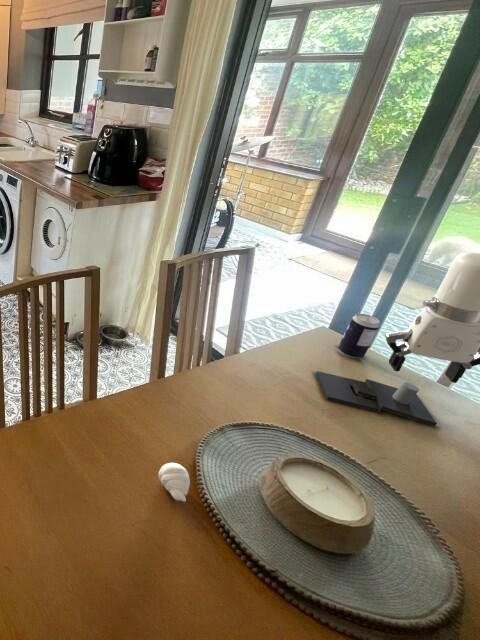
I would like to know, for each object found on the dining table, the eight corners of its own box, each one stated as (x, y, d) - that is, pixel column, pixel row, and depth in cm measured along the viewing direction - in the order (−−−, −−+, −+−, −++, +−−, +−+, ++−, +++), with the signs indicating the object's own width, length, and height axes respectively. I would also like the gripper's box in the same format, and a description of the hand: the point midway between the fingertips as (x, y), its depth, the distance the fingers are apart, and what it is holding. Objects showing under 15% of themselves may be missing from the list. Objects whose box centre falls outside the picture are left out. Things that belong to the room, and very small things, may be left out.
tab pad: (414, 396, 101) (427, 380, 98) (434, 426, 93) (450, 409, 90) (347, 376, 106) (358, 360, 103) (361, 403, 98) (374, 386, 95)
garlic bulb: (163, 507, 77) (169, 488, 75) (154, 477, 82) (159, 459, 80) (193, 510, 76) (200, 492, 74) (183, 481, 82) (189, 462, 79)
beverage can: (360, 351, 117) (379, 316, 111) (365, 362, 112) (384, 327, 107) (335, 344, 119) (352, 310, 114) (338, 355, 115) (355, 320, 110)
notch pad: (363, 384, 105) (365, 382, 104) (379, 412, 97) (380, 409, 96) (315, 373, 109) (316, 370, 108) (326, 399, 100) (328, 396, 100)
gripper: (410, 310, 87) (379, 373, 94) (527, 328, 80) (484, 394, 87) (395, 294, 93) (366, 354, 100) (502, 309, 86) (464, 372, 94)
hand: (421, 373), depth 94 cm, fingers open, 9 cm apart
